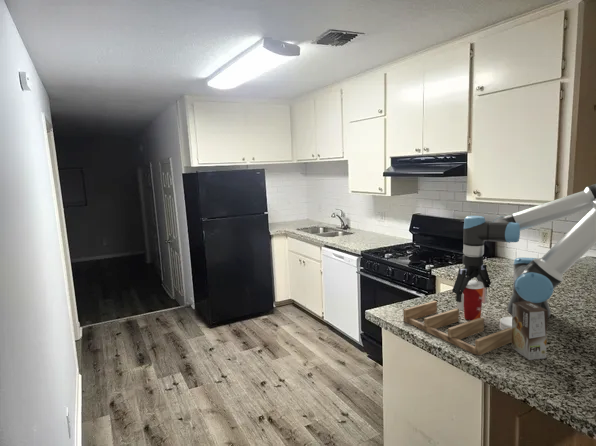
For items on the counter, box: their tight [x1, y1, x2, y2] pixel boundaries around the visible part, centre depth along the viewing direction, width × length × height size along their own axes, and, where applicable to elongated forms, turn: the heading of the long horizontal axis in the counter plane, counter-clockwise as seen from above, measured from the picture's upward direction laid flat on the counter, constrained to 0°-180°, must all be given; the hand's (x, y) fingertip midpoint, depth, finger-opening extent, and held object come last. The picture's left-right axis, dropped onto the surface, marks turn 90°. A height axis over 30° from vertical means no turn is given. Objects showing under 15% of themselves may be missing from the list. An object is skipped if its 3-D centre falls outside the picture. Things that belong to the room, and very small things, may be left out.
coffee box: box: [511, 301, 549, 361], centre depth 126 cm, size 9×6×16 cm
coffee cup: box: [462, 279, 484, 321], centre depth 156 cm, size 8×8×15 cm
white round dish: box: [499, 316, 512, 331], centre depth 145 cm, size 10×10×4 cm
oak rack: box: [402, 300, 512, 357], centre depth 146 cm, size 35×18×5 cm, turn 28°
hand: (471, 305), depth 157 cm, fingers open, 13 cm apart
